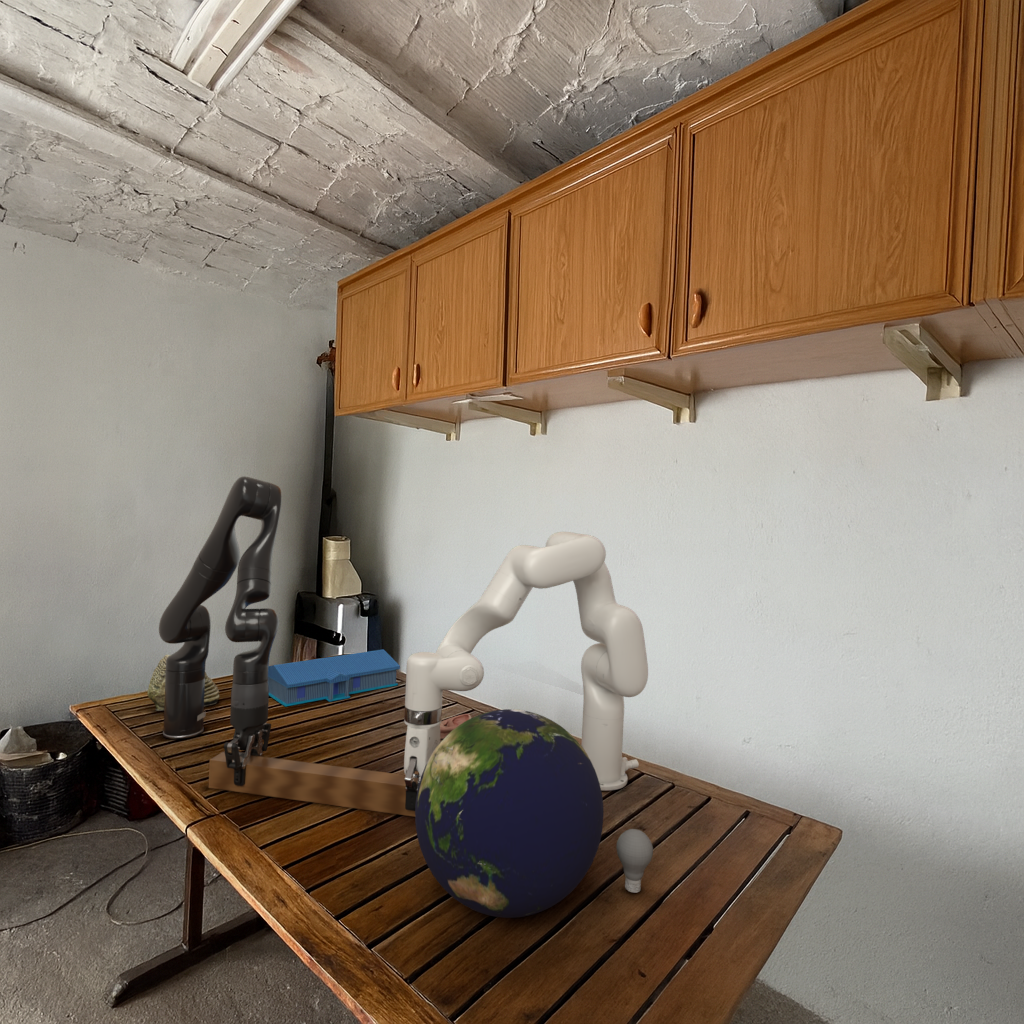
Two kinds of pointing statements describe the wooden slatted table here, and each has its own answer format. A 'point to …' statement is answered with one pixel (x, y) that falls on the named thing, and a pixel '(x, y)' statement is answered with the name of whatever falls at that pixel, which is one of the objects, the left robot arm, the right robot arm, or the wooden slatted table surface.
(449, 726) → the anatomical model
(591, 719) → the right robot arm
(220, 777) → the post
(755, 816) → the wooden slatted table surface
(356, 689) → the model building
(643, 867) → the light bulb
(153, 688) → the fossil
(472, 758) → the globe
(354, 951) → the wooden slatted table surface
